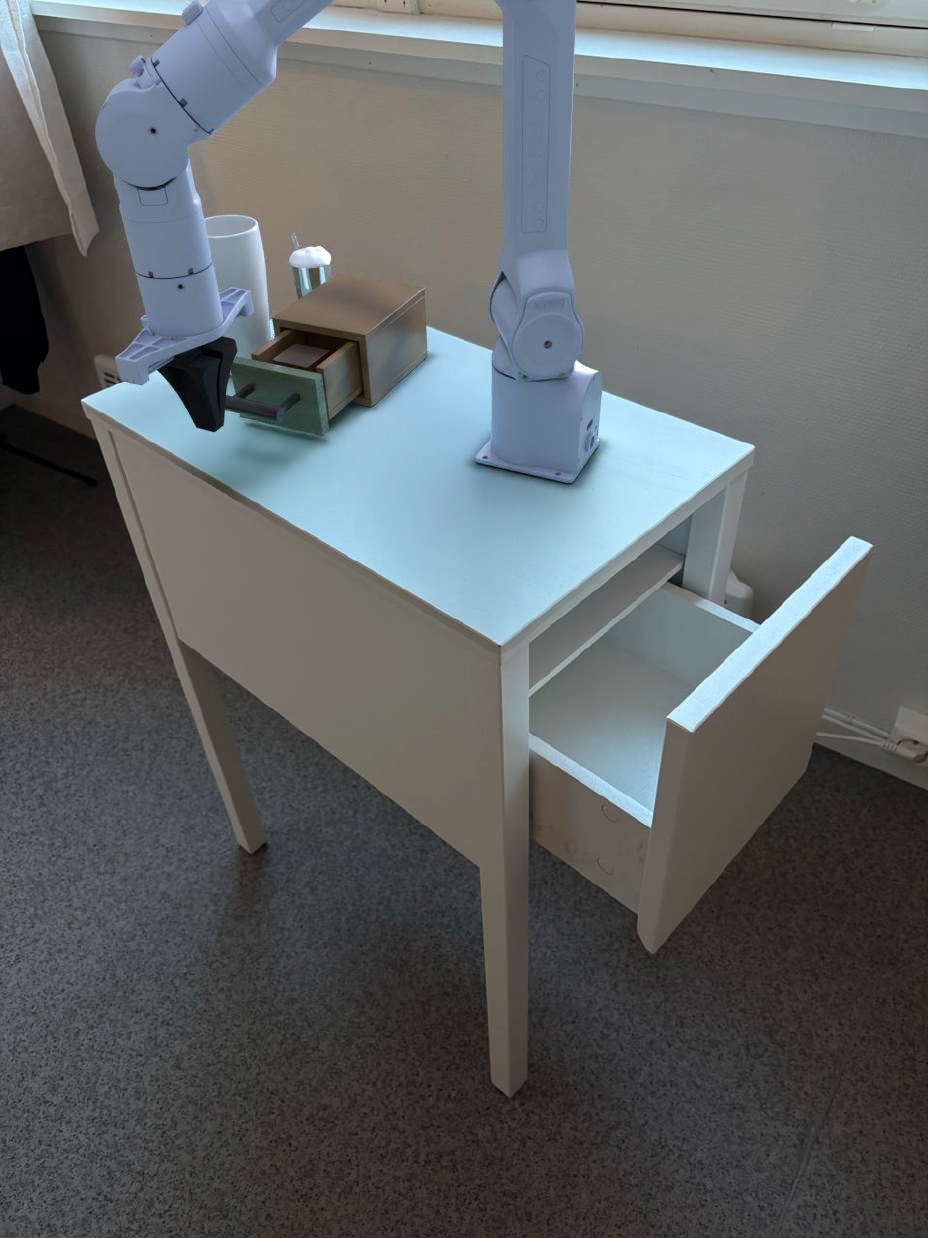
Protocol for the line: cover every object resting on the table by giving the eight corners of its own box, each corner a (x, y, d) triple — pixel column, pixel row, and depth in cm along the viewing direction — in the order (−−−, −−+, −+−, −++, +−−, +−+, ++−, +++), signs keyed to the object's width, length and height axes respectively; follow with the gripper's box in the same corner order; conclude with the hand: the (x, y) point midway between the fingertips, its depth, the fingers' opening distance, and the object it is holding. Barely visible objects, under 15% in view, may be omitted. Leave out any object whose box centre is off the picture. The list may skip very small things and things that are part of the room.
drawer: (298, 458, 83) (289, 400, 79) (213, 437, 86) (200, 380, 82) (381, 384, 94) (377, 329, 90) (303, 368, 97) (295, 314, 93)
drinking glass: (206, 368, 99) (175, 224, 89) (260, 349, 102) (235, 209, 92) (239, 390, 95) (210, 242, 85) (294, 369, 98) (272, 225, 89)
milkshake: (320, 315, 109) (310, 228, 103) (346, 329, 106) (336, 240, 99) (288, 326, 107) (275, 238, 100) (312, 340, 104) (301, 250, 97)
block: (334, 388, 91) (329, 350, 88) (312, 406, 88) (307, 367, 85) (300, 380, 92) (295, 343, 89) (277, 398, 89) (271, 359, 87)
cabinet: (372, 407, 92) (365, 334, 87) (282, 388, 95) (271, 317, 90) (428, 356, 100) (425, 287, 95) (344, 340, 104) (337, 273, 99)
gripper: (190, 228, 75) (222, 381, 84) (64, 291, 65) (115, 457, 74) (262, 239, 73) (287, 395, 82) (142, 306, 63) (185, 476, 72)
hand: (210, 426), depth 78 cm, fingers closed
